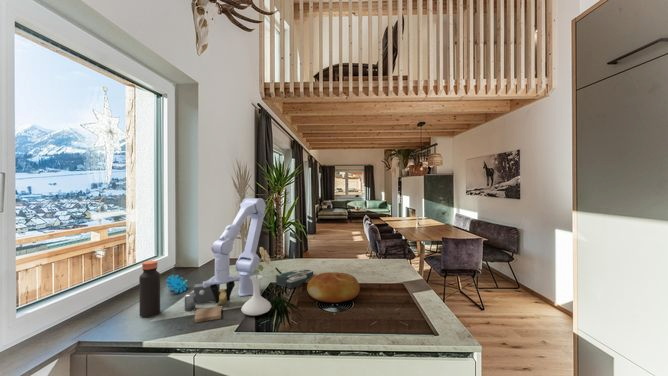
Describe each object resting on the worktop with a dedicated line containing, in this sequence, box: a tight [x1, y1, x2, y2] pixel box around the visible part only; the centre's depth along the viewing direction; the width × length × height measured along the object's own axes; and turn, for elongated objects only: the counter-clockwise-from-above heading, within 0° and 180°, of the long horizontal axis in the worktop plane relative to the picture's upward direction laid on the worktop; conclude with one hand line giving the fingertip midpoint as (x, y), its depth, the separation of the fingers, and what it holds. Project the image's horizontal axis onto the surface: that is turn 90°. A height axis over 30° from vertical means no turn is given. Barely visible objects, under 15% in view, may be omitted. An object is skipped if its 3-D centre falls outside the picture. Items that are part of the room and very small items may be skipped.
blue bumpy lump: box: [165, 274, 188, 294], centre depth 135 cm, size 11×6×10 cm
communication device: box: [275, 267, 314, 289], centre depth 150 cm, size 12×24×9 cm, turn 148°
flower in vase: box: [240, 246, 272, 316], centre depth 113 cm, size 13×11×25 cm
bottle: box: [138, 260, 161, 318], centre depth 110 cm, size 7×7×20 cm
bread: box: [306, 271, 361, 304], centre depth 129 cm, size 23×23×10 cm
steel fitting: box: [184, 292, 197, 312], centre depth 114 cm, size 4×4×6 cm
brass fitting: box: [216, 288, 228, 307], centre depth 119 cm, size 4×4×6 cm
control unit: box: [193, 283, 221, 304], centre depth 123 cm, size 10×5×7 cm, turn 112°
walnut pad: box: [193, 306, 222, 323], centre depth 109 cm, size 9×9×1 cm
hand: (222, 301), depth 119 cm, fingers closed on brass fitting, 4 cm apart
